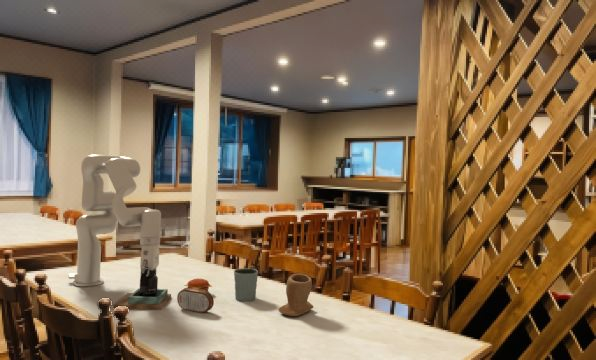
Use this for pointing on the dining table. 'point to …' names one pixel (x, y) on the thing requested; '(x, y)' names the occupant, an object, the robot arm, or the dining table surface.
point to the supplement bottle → (150, 286)
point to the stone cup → (297, 295)
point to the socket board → (144, 300)
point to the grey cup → (245, 284)
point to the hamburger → (198, 284)
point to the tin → (195, 300)
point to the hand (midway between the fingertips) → (148, 282)
